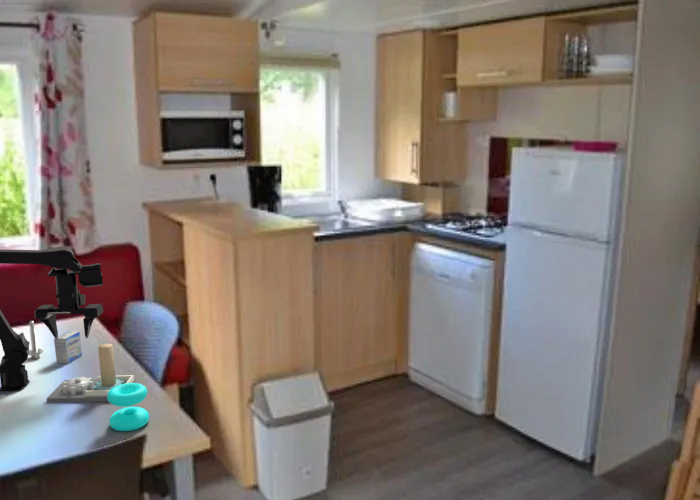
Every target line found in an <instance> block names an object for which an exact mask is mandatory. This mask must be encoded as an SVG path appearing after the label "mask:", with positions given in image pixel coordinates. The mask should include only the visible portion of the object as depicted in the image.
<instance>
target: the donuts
mask: <svg viewBox="0 0 700 500" xmlns="http://www.w3.org/2000/svg"><path fill="white" fill-rule="evenodd" d="M147 389H148V388H147V387H146V386H145V385H143V384H142V383H137V382H135V383H125V384H121V385H118V386H115V387H113V388H112V389H111V390H110V391H109V392H108V394H107V399H108V401H107V402H109V403H110V405H113V406H115V407H122V408H120V409H118V410H116V411H115V412H113V413H112V414H111V416H110V417H109V426H110V427H111V428H112V429H113V430H116V431H119V432H130V431H131V432H132V431H135V430H138V429H140V428H142V427H144V426H145V425H146V424H148V422H149V421H150V413H149V411H147V409H146V408H143V407H140V406H135V405H138V404H140V403H141V402H143V401H144V400H145V399H146V397H147V395H148V390H147Z"/></svg>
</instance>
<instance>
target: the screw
mask: <svg viewBox="0 0 700 500" xmlns="http://www.w3.org/2000/svg"><path fill="white" fill-rule="evenodd" d="M36 330H37V329H36V328H35V322H34V320H30V321H29V333H30V336H29V337H30V341H31V342H30V343H31V344H30V345H31V346H30V347H31V349H29V353H28V356H31V359H32V360H37V359H40V356H41V354H43V352H44V350H43V349H41V348H39V347H38V342H37V331H36Z"/></svg>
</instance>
